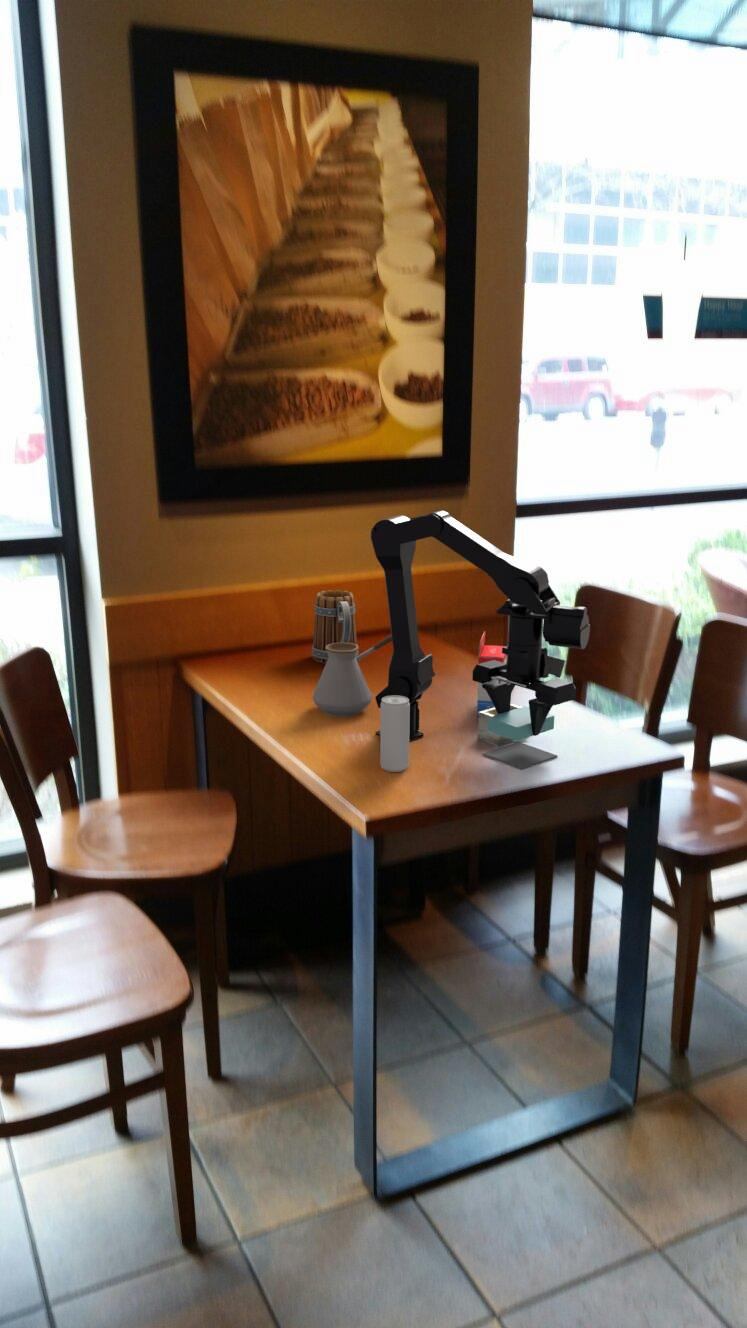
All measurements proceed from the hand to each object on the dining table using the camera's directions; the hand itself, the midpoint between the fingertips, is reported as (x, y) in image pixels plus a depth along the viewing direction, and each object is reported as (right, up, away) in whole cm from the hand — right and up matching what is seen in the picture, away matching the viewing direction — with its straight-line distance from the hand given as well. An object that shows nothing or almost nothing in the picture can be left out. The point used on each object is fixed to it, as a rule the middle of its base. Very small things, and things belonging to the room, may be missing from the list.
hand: (520, 729), depth 185 cm
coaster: (0, -5, +1) cm, 5 cm away
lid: (0, +1, 0) cm, 1 cm away
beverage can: (-22, -6, -4) cm, 23 cm away
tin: (-2, -2, +11) cm, 11 cm away
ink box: (-2, +2, +26) cm, 26 cm away
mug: (-33, +12, +58) cm, 67 cm away
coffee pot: (-27, +3, +27) cm, 38 cm away
